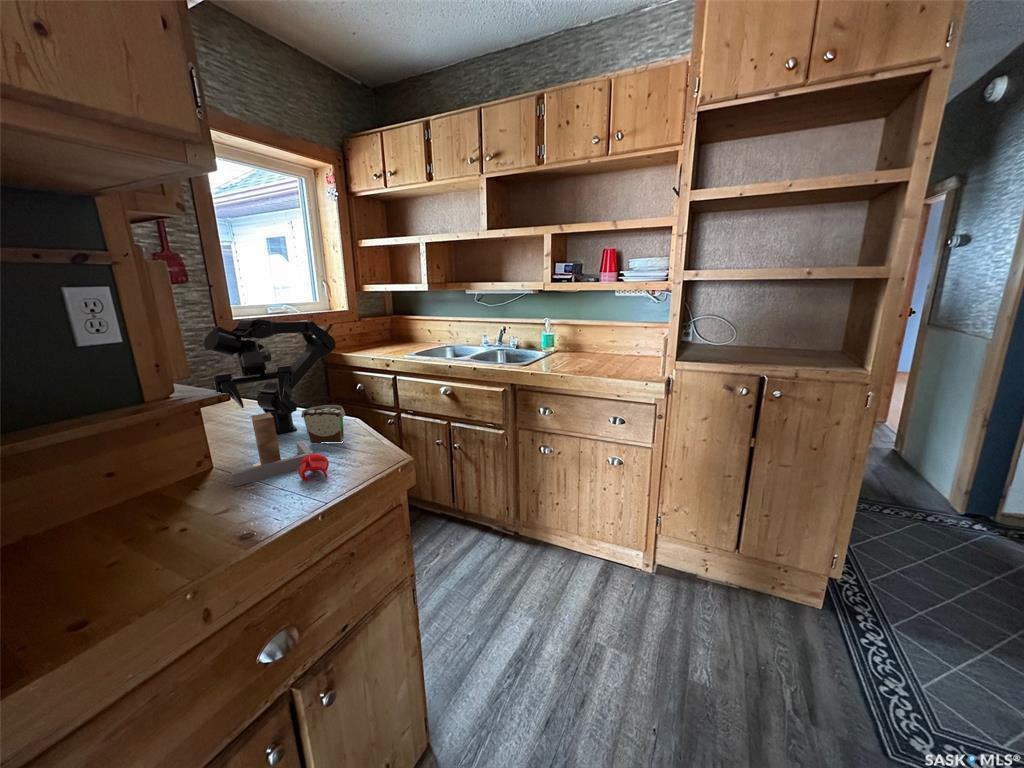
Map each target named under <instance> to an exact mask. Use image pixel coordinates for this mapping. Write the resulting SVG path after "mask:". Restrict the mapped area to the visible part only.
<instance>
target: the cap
mask: <svg viewBox="0 0 1024 768" xmlns="http://www.w3.org/2000/svg"><path fill="white" fill-rule="evenodd" d="M300 465H301V466H300V467H299V469H297V471H298V476H299V478H300V479H302V481H304V482H309V477H307V476H306V473H307V472H318V471H321V472H322V474H323V476H324V478H328V474H327V471H328V469H329V465H330V463H329V460H328V458H327V457H326V456H325V455H322V454H320V453H313V454H310V455H307V456H306V457H304V458H303V459H302V461H301V463H300Z"/></svg>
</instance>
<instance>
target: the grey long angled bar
mask: <svg viewBox="0 0 1024 768" xmlns="http://www.w3.org/2000/svg"><path fill="white" fill-rule="evenodd" d="M295 444H296V450H297V453H298V455H295V456H290V457H288V458H287V457H286V458H285V456H280V457H281V460H278V461H274V462H270V463H267V464H263V465H261V463H260V462H257V463H253V464H252V467H248V468H247V467H246V468H243V469H240V470H236V471H233V472H230V473H231V477H232V479H231V480H232V482H233V486H234V488H235V487H239V486H242V485H245V484H250V483H253V482H257V481H261V480H265V479H268V478H272V477H276V476H279V475H282V474H286V473H290V472H293V471H294V472H295V471H298V469H299V467H300V466H301V465H300V463H301V461H302V459H303V458H304V457H306V456H307V455H310V454H314V452H313V451H312V450H311V449H310V448H309V447H308V445H307V444H306V443H305V442H304V441H303V440H298V441H295Z"/></svg>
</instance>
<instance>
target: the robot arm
mask: <svg viewBox="0 0 1024 768" xmlns="http://www.w3.org/2000/svg"><path fill="white" fill-rule="evenodd" d="M297 333H300V334H301V336H302V339H303V341H304V342H305V351H304V352H303V353H302V354H301V355H300V357H299V358H298V359H297V360H296V361H295V362H294V363H293V364H292V365H290V364H286V365H285V364H284V365H279V366H276V367H275V371H273V372H267V365H266V363H269V362H272V359H273V358H272V354H271V351H270V349H269V348H266V349H265V346H264V345H263V344H261V343H259V342H257V341H254V340H251V339H255V340H256V339H257V340H258V339H259V340H261V339H267V338H269V337H273V336H275V335H279V334H280V335H281V334H297ZM203 347H204V350H206V351H209V352H211V353H216V354H219V355H223V356H226V357H231V356H233V355H236V359H237V362H238V365H239V370H240V373H241V376H233V377H232V373H231V372H226V373H218V374H215V375H214V376H213V384H214V388H215V392H221V393H229V394H230V395H231V397H230V398H231V399H232V400H233V401H234V402H235V403H236V404H237V405H238V406H239V407H241V409H244V408H245V407H244V402H243V399H242V397H241V395H240V393H239V390H238V387H237V385H243V384H251V383H252V384H254V383H260V382H266V383H265V385H264V386H263V387H262V388H261V389H260V390H258V391H257V392H258V394H257V396H256V402H257V405H258V406H259V408H261V409H262V411H263V412H264V413H269V412H270V413H271V415H272V416H273V419H274V424H275V430H276V435H277V436H278V435H281V434H282V435H283V434H284V433H285V434H286V433H290V431H291V432H294V430H295V431H297V430H298V428H297V427H296V426H295V424H294V420H293V413H294V412H296V411H297V410H298V403H296V402H294V401H293V400H291V399H292V396H293V390H294V389H295V388H296V386H297V385H298V384H299V383H300V382H301V381H302V379H304V377H305V376H306V375H307V374H308V373H309V371H310V370H311V369H312V368H313V367H314V365H315V364H316V363H317V362H318V361H319V360H320V359H323V358H325V357H328V355H330V353H332V352H333V351H334V350H335V349H336V347H337V345H336V340H335V339H334V337H333V336H332V335H330V333H328V332H327V331H326V330H324V329H323V328H322V327H320V326H318V325H317V323H315V321H312V320H310V319H309V320H304V319H303V320H297V321H294V320H293V321H273V320H269V319H264V318H243V319H241V320H239V322H238V323H237V326H235V327H234V328H232V329H231V330H227V329H225V328H223V327H220V326H213V328H212V330H211V331H210V332H209V333H208V334H207V335H206V337H205V338H204V341H203ZM273 380H276V382H269V381H273ZM267 381H268V382H267Z"/></svg>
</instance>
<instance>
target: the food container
mask: <svg viewBox="0 0 1024 768" xmlns="http://www.w3.org/2000/svg"><path fill="white" fill-rule="evenodd" d="M345 416H346V412H345V410H344V408H343V407H342V405H337V404H325V405H318V406H313V407H309V408H306V409H302V411H301V418H303V421H304V424H305V427H306V428H305V429H306V431H307V434H308V439H309V443H310V444H311V443H321V442H342V441H343V439H344V436H345V435H344V417H345ZM344 440H345V439H344Z"/></svg>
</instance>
